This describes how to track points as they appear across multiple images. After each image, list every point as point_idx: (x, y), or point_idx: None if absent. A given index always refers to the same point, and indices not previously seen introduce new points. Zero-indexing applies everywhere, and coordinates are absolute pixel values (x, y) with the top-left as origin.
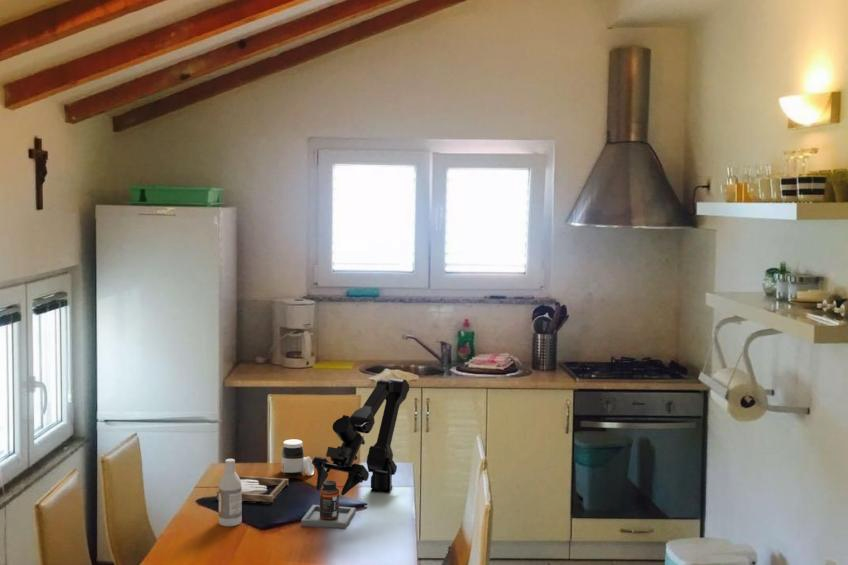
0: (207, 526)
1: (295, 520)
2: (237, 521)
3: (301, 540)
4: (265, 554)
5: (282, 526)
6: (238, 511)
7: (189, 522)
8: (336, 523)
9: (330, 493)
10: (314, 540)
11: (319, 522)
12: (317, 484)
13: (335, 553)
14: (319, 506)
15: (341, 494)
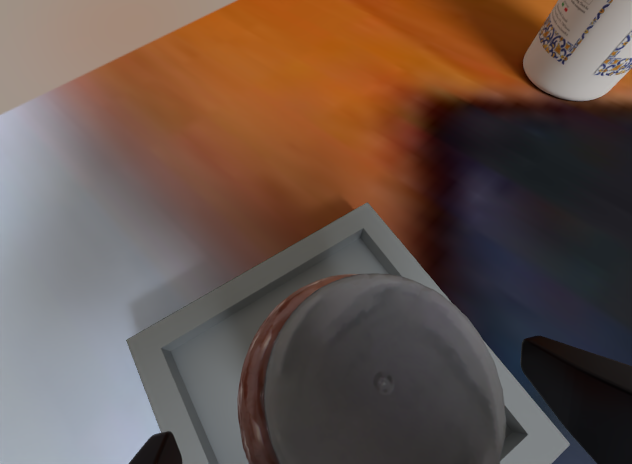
0: None
1: (443, 245)
2: (531, 59)
3: (234, 125)
4: (246, 12)
5: (412, 164)
6: (560, 22)
7: None
8: (186, 308)
9: (269, 316)
10: (190, 154)
11: (279, 253)
12: (590, 358)
13: (34, 127)
14: (508, 454)
15: (169, 436)
